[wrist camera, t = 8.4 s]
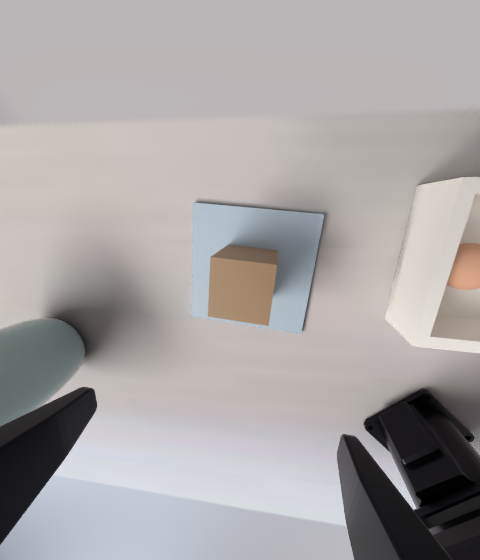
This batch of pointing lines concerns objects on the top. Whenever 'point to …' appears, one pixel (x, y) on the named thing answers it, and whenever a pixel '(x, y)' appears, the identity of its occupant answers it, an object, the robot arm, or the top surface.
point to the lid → (253, 265)
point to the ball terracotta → (466, 267)
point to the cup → (36, 364)
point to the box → (437, 269)
